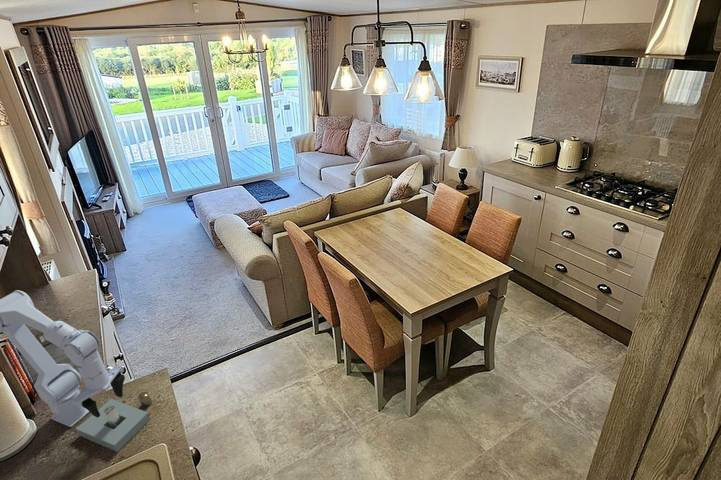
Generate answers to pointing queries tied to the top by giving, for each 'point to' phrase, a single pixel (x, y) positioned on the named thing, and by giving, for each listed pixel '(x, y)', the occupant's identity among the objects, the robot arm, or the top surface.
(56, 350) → the coffee box
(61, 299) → the top surface
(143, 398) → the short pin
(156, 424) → the top surface
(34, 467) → the top surface
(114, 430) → the hole plate
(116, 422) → the long pin
